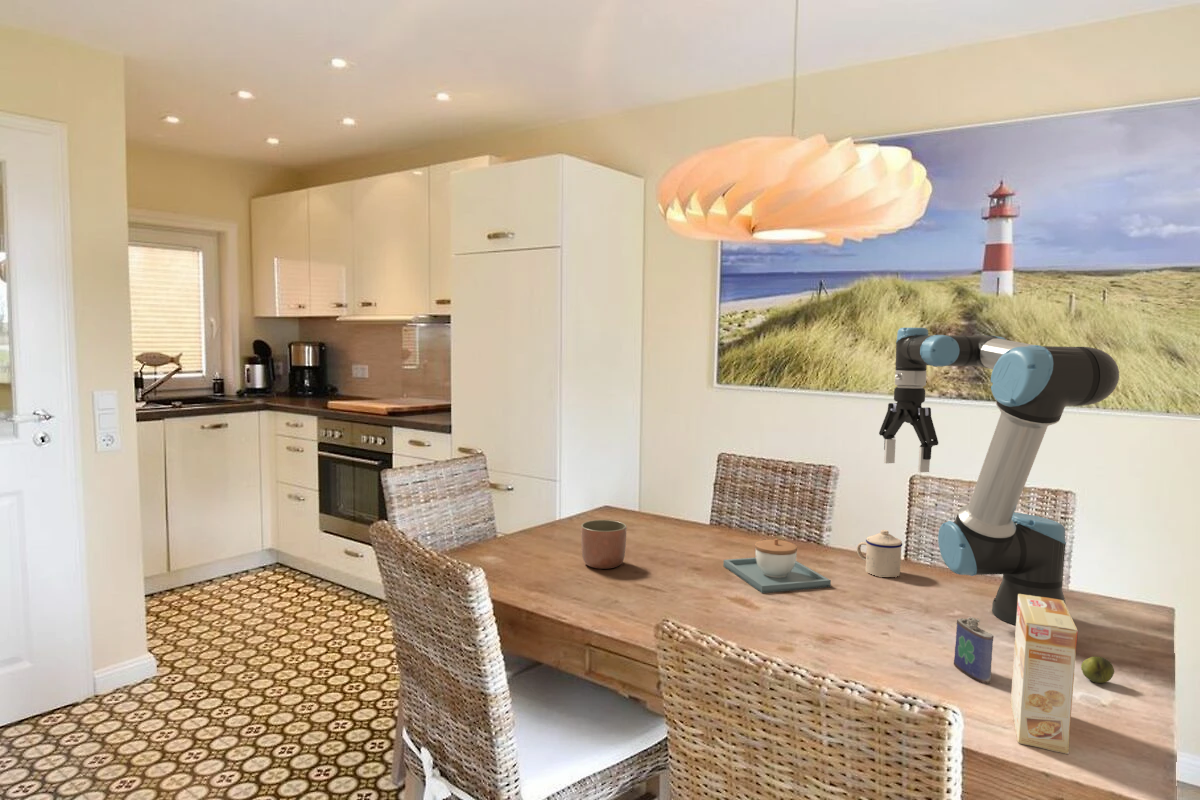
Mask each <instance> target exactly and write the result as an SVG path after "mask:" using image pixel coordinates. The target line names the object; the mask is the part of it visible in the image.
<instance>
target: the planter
mask: <svg viewBox="0 0 1200 800" xmlns="http://www.w3.org/2000/svg"><path fill="white" fill-rule="evenodd" d="M627 531H628V530H627V524H626V523H624V522H622V521H618V520H610V519H597V520H596V519H594V520H588V521H585V522H582V524H580V533H581V534H580V538H581V539H580V540H581V544H580V545H581V555H582V561H583V562H584V563H585V565H587V566H589V567H590V568H593V569H600V570H602V569H603V570H604V569H605V570H607V569H613V568H614V569H615V568H617V567H619V566H621V565H622V563H623V562H624V559H625V557H626V555H625V554H626V545H627V544H626V543H627Z"/></svg>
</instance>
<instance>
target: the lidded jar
mask: <svg viewBox="0 0 1200 800" xmlns="http://www.w3.org/2000/svg"><path fill="white" fill-rule="evenodd" d="M754 548H755V550H754V551H755V557H756V562H757V565H758V567H759V568H760V570H761V571H762V572H763V574H764V575H766V576H769V577H774V578H782V577H786V576H787V574H788V573H790V572H791V571H792V569H793V568H794V565H795V562H796V561H797V552H798V546H797V545H796V544H795V543H792V542H789V541H787V540H781V539H780V540H779V538H774V539H764V540H758V541H756V542H755V544H754Z"/></svg>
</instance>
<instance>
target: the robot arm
mask: <svg viewBox="0 0 1200 800" xmlns="http://www.w3.org/2000/svg"><path fill="white" fill-rule="evenodd" d="M895 346H896V347H895V371H894V373H895V375H894V385H896V386H895V388H894V391H893V400H894V402H889V403H888V404H887V410H886V414H885V416H884V419H883V421H882V424H881V427H880V429H879V432H878V435H879V436H882V437H883V439H884V441H883V442H884V444H883V445H884V447H883V449H884V460H883V462H884V463H883V464H895V463H896V462H895V460H896V434H897V433H898V432H899V430H900V429H901V427H902V426H903V424H904V423H908V424H909V425H910V426H912V427H913V429H914V431H915V434H916V436H917V438H918V440H919V442H920V445H919V448H918V466H917V467H918V469H917V472H918V473H930V463H931V462H930V461H931V458H932V447H934V446H938V445H939V440H938V436H937V433H936V428H935V425H934V422H933V418H932V408H931V407H922V404H923V403H924V402H925V401H926V389H925V388H924V387H925V386H927V366H932V367H935V368H937V367H943V368H944V367H980V368H985V369H989V370H992V372H991V374H990V375H991V376H990V383H991V384H992V385H991V386H990V389H991V393H992V395H993V397H994V400H996V402H995V404H996V407H997V408H998V410H999V411H1000V415H999V418H998V421H997V424H996V426H995V429H994V432H993V435H992V438H991V441H990V443H989V445H988V446H989V447H988V449H987V453H986V455H985V458H984V460H983V463H982V466H981V469H980V473H979V474H978V478H977V479H976V483H975V486H974V489H973V492H972V495H971V497H970V500H969V503H968V504H965V505H963V506H961V507H960V508H959V509H958V512H957V515H956V517H955V520H954V521H951V520H948V521H946V522H943V523H942V524H940V527H939V529H938V533H937V544H938V549H939V552H940V555H941V558H942V560H943V562H944V563H945V565H946V566H947V568H948V569H949V570H950V571H951V572H953V573H954V574H957V575H961V576H970V577H974V576H983V575H984V576H985V575H986V576H987V575H989V576H990V575H1002V579H1001V583H1000V585H999V586H998V589H997V593H996V596H995V597H994V599H993V600H992V605H991V608H992V609H991V613H992V614H993V615H994V616H995V618H998V619H1000V620H1001V621H1004V622H1006V623H1007V624H1008V623H1009V624H1012V625H1014V626H1016V617H1017V602H1018V594H1024V595H1031V596H1038V597H1046V598H1053V599H1059V600H1063V601H1064V602H1065V604H1066V599H1065V596H1064V595H1065V594H1064V591H1063V580H1064V577H1063V576H1064V566H1065V565H1064V564H1065V552H1066V545H1067V542H1066V528H1065V527H1064V525H1063V524H1062V523H1060V522H1058V521H1055V520H1053V519H1050V518H1046V517H1042V516H1038V515H1033V514H1028V513H1021V512H1015V511H1016V509H1017V506H1018V505H1019V502H1020V499H1021V496H1022V493H1023V490H1024V489H1025V488H1024V487H1025V486H1026V483H1027V480H1028V478H1029V475H1030V472H1031V470H1032V467H1033V464H1034V462H1035V460H1036V457H1037V455H1038V452H1039V449H1040V447H1041V444H1042V442H1043V440H1044V436H1045V434H1046V432H1047V429H1048V427H1049V426H1053V425H1055V424H1057V423H1058V422H1060V420H1061V418H1062V416H1063V413H1064V410H1065V408H1066V407H1076V406H1078V407H1079V406H1080V407H1081V406H1082V407H1083V406H1089V405H1094V404H1098V403H1100V402H1102V401H1104V400H1105V399H1107V398H1108V397H1109V396H1110V395H1112V394H1113V392H1114V391H1116V390H1115V389H1116V388H1117V387H1118V384H1119V381H1120V371H1119V369H1120V368H1119V367H1118V364H1117V362H1116V361H1115V359H1114V357H1113V356H1111V355H1110V354H1109V353H1107V352H1105V351H1103V350H1102V349H1098V348H1096V347H1090V346H1055V345H1054V346H1053V345H1051V346H1048V345H1047V346H1046V345H1045V346H1043V345H1037V344H1031V343H1027V342H1026V343H1025V342H1020V341H1013V340H1008V339H1006V338H1005V337H1004V336H996V335H949V334H948V335H947V334H946V335H945V334H934V335H933V334H932V335H931V334H929V330H928V328H927V327H900V328H899V329H898V330H897V335H896V341H895ZM1066 605H1067V604H1066Z"/></svg>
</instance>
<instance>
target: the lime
mask: <svg viewBox="0 0 1200 800" xmlns="http://www.w3.org/2000/svg"><path fill="white" fill-rule="evenodd" d="M1080 667H1081V668H1080V669H1081V672H1082V674H1083V676H1084V677H1085V678H1086V679H1088V680H1089V681H1091V682H1092V683H1096V684H1104V683H1107V682H1109V681H1110V680H1111V679H1112V678H1113V676H1114V674H1115V668H1114V666H1113V664H1112V662H1111V661H1110V660H1108V659H1107V658H1105V657H1102V656H1090V657H1089V658H1086V659H1084V660H1083V661H1082V663H1081V666H1080Z"/></svg>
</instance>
